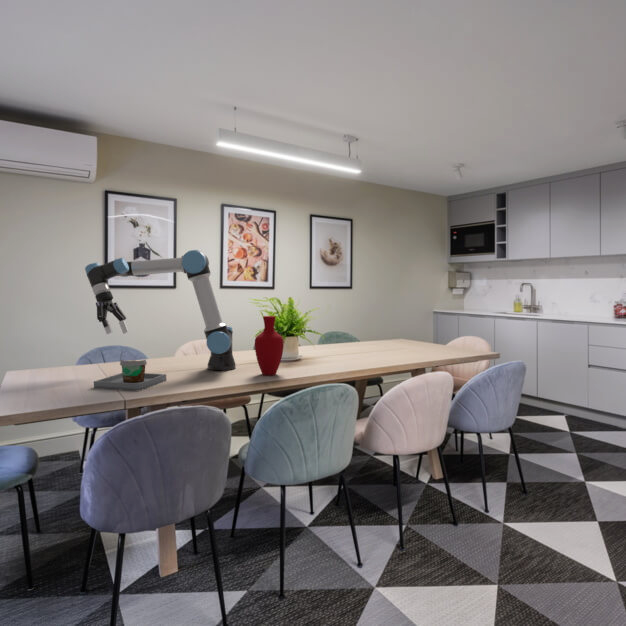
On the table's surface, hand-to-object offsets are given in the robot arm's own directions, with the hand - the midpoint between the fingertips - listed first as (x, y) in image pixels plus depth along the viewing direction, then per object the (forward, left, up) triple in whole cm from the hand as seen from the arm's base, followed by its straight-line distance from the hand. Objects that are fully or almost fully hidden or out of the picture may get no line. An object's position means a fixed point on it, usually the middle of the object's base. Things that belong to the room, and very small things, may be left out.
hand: (118, 333), depth 217 cm
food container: (-16, +15, -21) cm, 30 cm away
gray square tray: (-16, +14, -22) cm, 31 cm away
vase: (-70, -23, -22) cm, 77 cm away
